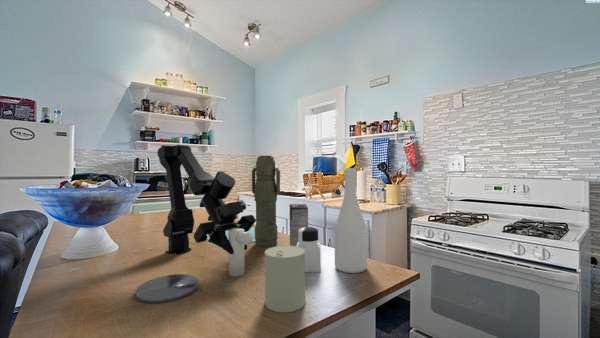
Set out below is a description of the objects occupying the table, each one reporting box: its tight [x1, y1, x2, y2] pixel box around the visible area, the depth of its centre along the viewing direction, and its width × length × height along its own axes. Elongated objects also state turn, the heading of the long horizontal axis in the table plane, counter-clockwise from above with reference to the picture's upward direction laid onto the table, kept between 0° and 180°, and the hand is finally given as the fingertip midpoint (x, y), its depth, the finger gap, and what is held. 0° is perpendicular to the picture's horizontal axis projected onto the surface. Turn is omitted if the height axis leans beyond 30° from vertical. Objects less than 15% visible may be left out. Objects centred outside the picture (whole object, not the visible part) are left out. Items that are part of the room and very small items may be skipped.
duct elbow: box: [228, 228, 254, 277], centre depth 79 cm, size 7×4×12 cm, turn 50°
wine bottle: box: [333, 167, 368, 274], centre depth 84 cm, size 10×10×30 cm
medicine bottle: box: [296, 226, 322, 273], centre depth 84 cm, size 7×7×12 cm
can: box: [264, 245, 307, 313], centre depth 63 cm, size 9×9×12 cm
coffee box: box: [289, 203, 309, 246], centre depth 105 cm, size 9×6×16 cm
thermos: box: [251, 155, 281, 249], centre depth 110 cm, size 9×12×35 cm
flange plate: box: [135, 273, 199, 304], centre depth 70 cm, size 14×14×1 cm
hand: (239, 251), depth 79 cm, fingers closed on duct elbow, 4 cm apart
